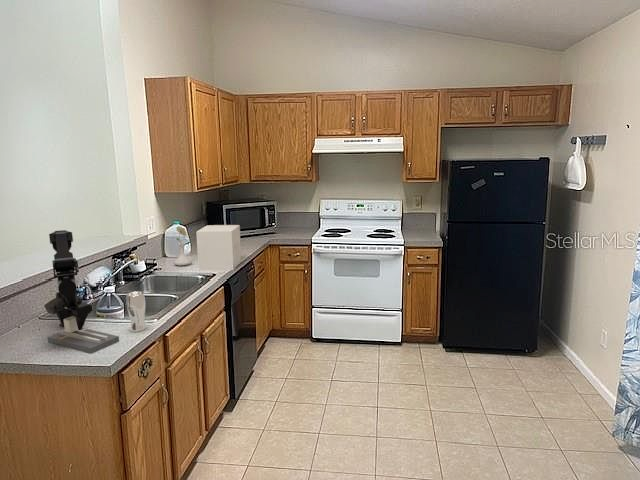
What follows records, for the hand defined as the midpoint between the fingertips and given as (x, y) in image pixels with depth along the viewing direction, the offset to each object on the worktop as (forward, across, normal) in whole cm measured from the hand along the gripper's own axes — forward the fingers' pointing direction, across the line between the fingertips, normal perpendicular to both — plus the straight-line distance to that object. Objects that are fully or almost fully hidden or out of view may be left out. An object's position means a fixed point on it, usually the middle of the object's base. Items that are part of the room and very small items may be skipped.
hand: (72, 328), depth 175 cm
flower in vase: (+5, -47, +111) cm, 121 cm away
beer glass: (+5, +15, +18) cm, 24 cm away
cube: (+5, -23, +119) cm, 122 cm away
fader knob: (+2, 0, 0) cm, 2 cm away
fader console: (+4, +6, 0) cm, 8 cm away
